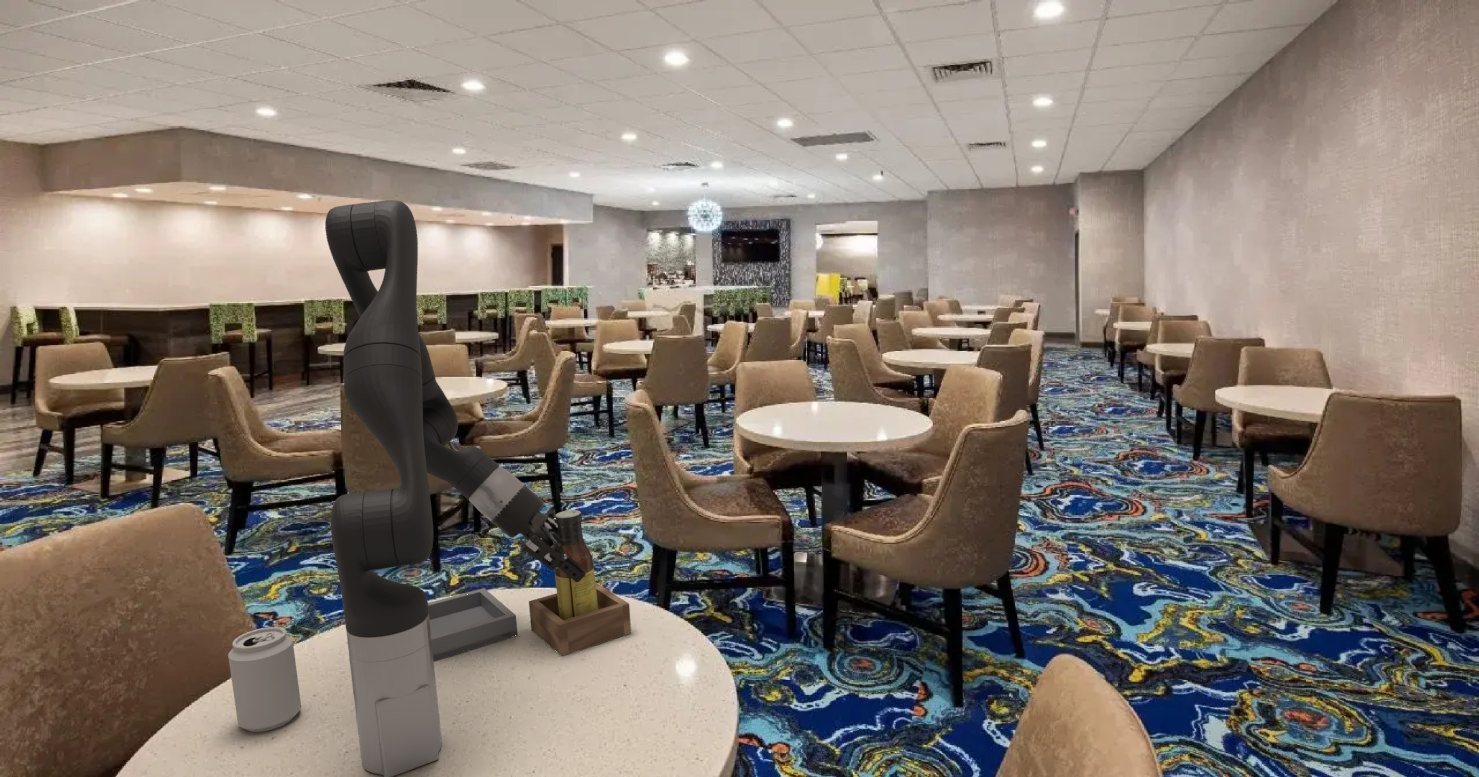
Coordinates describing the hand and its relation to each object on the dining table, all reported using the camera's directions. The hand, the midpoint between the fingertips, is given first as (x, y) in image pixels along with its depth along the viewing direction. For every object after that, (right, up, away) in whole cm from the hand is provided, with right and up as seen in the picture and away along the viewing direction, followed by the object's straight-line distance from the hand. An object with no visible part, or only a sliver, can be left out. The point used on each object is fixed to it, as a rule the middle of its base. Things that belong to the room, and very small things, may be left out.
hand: (585, 569), depth 132 cm
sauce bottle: (-1, -10, +1) cm, 11 cm away
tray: (-22, -11, +3) cm, 25 cm away
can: (-38, -16, -21) cm, 47 cm away
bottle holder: (-1, -10, +2) cm, 11 cm away
